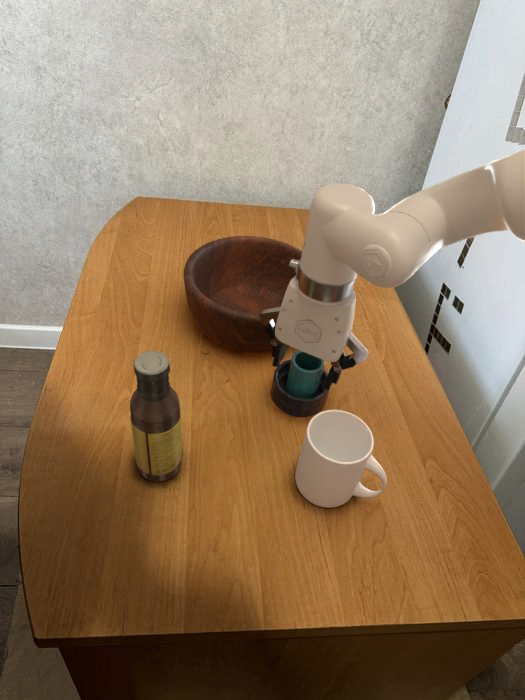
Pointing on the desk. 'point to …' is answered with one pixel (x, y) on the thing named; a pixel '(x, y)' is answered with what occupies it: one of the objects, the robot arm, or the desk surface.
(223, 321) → the wooden bowl
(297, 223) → the desk surface
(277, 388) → the bowl
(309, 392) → the cup
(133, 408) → the sauce bottle
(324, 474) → the mug
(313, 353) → the robot arm
